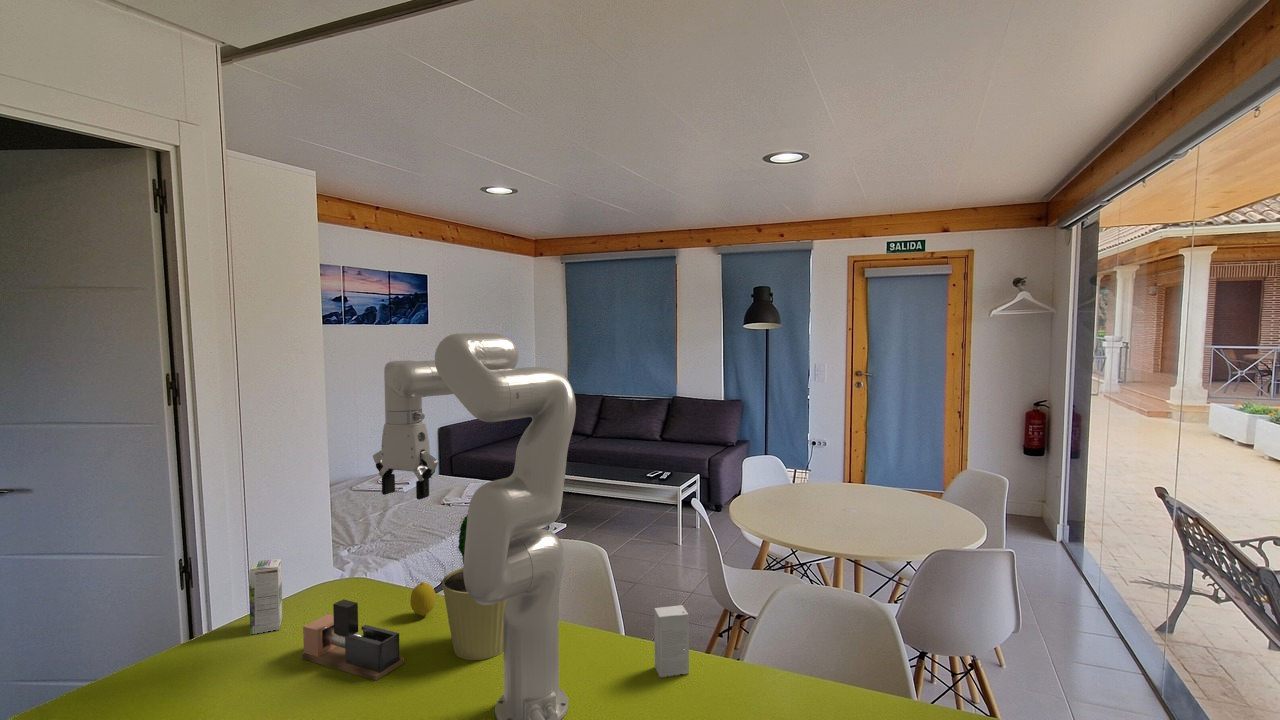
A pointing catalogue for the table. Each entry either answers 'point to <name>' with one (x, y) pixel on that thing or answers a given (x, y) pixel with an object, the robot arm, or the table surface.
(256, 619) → the syrup box
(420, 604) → the lemon
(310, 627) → the socket block
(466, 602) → the potted cactus
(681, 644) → the skincare box
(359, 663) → the dark grey open box
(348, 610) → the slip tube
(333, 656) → the base board
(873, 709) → the table surface
